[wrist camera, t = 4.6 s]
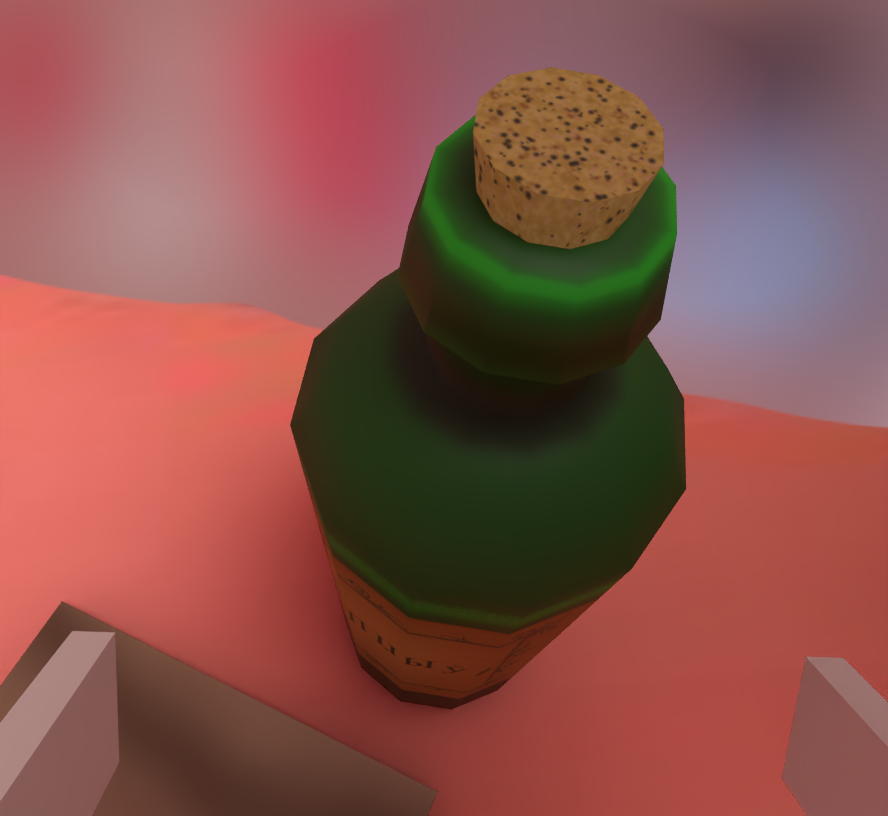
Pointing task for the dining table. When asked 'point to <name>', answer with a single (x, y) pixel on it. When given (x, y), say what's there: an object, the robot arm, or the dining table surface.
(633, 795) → the dining table surface
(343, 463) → the bottle
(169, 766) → the walnut board
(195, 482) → the dining table surface
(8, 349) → the dining table surface
